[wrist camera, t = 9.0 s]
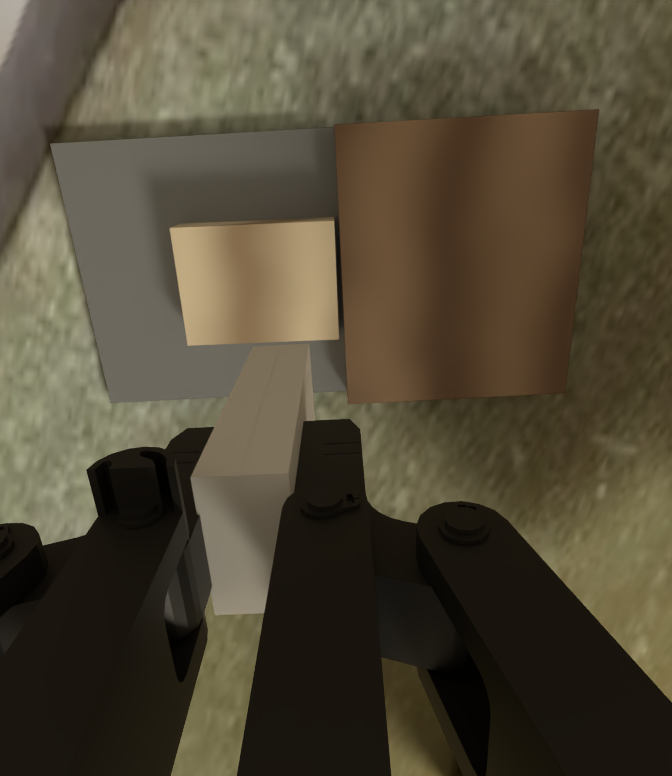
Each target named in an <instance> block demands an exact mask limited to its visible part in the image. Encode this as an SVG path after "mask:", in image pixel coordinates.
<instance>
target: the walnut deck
mask: <svg viewBox="0 0 672 776" xmlns="http://www.w3.org/2000/svg"><path fill="white" fill-rule="evenodd" d="M598 115H599V109H596V110H578V111H561V112H544V113H527V114H510V115H493V116H475V117H458V118H441V119H424V120H407V121H390V122H372V123H355V124H338V125H335V126H334V130H335V150H336V171H337V191H338V212H339V232H340V253H341V273H342V294H343V314H344V335H345V355H346V376H347V395H348V404H360V403H379V402H399V401H418V400H438V399H457V398H477V397H497V396H516V395H536V394H555V393H565V390H566V381H567V373H568V365H569V356H570V348H571V340H572V331H573V323H574V315H575V306H576V298H577V290H578V281H579V273H580V265H581V256H582V248H583V240H584V231H585V223H586V215H587V206H588V198H589V190H590V181H591V173H592V165H593V156H594V148H595V140H596V131H597V123H598Z"/></svg>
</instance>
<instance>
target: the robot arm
mask: <svg viewBox="0 0 672 776" xmlns="http://www.w3.org/2000/svg"><path fill="white" fill-rule="evenodd" d="M87 474H88V478H89V482H90V486H91V490H92V493H93V497H94V501H95V505H96V509H97V513H98V518H97V519H96V520H95V522H94V523H93V525H92V526H91V528H90V529H89V531H88V532H87V534H86V535H84V536H81V537H77V538H73V539H69V540H64V541H60V542H56V543H52V544H48V545H42V542H41V539H40V536H39V533H38V532H37V530H36V529H35V527H33V526H30V525H27V524H24V523H6V524H0V776H171V772H172V768H173V765H174V761H175V757H176V754H177V750H178V746H179V743H180V739H181V735H182V732H183V728H184V724H185V721H186V717H187V713H188V710H189V706H190V702H191V699H192V695H193V691H194V688H195V684H196V680H197V677H198V673H199V669H200V666H201V662H202V658H203V655H204V651H205V647H206V644H207V634H208V629H207V623H206V618H205V613H204V611H205V608H206V605H207V601H208V598H209V595H210V591H211V596H212V602H213V608H214V613H215V615H231V614H257V613H264V618H263V624H262V630H261V636H260V641H259V647H258V653H257V659H256V665H255V671H254V677H253V683H252V689H251V695H250V701H249V707H248V713H247V719H246V725H245V731H244V737H243V742H242V748H241V754H240V760H239V766H238V772H237V776H391V767H390V756H389V744H388V732H387V721H386V709H385V697H384V686H383V674H382V662H381V657H384V658H387V659H391V660H395V661H399V662H403V663H407V664H411V665H414V666H417V670H418V675H419V678H420V680H421V682H422V685H423V687H424V689H425V691H426V694H427V696H428V698H429V700H430V703H431V705H432V707H433V709H434V712H435V714H436V716H437V718H438V721H439V723H440V725H441V727H442V730H443V732H444V734H445V736H446V739H447V741H448V743H449V745H450V748H451V750H452V752H453V755H454V757H455V759H456V761H457V764H458V766H459V768H460V770H461V773H462V775H463V776H672V702H671V701H670V700H669V699H668V698H667V697H666V696H665V695H664V694H663V692H662V691H661V690H660V689H659V688H658V687H657V686H656V685H655V684H654V682H653V681H652V680H651V679H650V678H649V677H648V676H647V675H646V674H645V672H644V671H643V670H642V669H641V668H640V667H639V666H638V665H637V664H636V662H635V661H634V660H633V659H632V658H631V657H630V656H629V655H628V654H627V652H626V651H625V650H624V649H623V648H622V647H621V646H620V645H619V644H618V643H617V641H616V640H615V639H614V638H613V637H612V636H611V635H610V634H609V633H608V631H607V630H606V629H605V628H604V627H603V626H602V625H601V624H600V623H599V621H598V620H597V619H596V618H595V617H594V616H593V615H592V614H591V613H590V611H589V610H588V609H587V608H586V607H585V606H584V605H583V604H582V603H581V601H580V600H579V599H578V598H577V597H576V596H575V595H574V594H573V593H572V591H571V590H570V589H569V588H568V587H567V586H566V585H565V584H564V583H563V581H562V580H561V579H560V578H559V577H558V576H557V575H556V574H555V573H554V572H553V570H552V569H551V568H550V567H549V566H548V565H547V564H546V563H545V562H544V560H543V559H542V558H541V557H540V556H539V555H538V554H537V553H536V552H535V550H534V549H533V548H532V547H531V546H530V545H529V544H528V543H527V542H526V540H525V539H524V538H523V537H522V536H521V535H520V534H519V533H518V532H517V530H516V529H515V528H514V527H513V526H512V525H511V524H510V523H509V522H508V520H507V519H505V518H504V517H503V516H501V515H500V514H499V513H497V512H496V511H495V510H493V509H490V508H488V507H485V506H482V505H480V504H475V503H470V502H462V501H459V502H444V503H441V504H438V505H435V506H432V507H430V508H429V509H427V510H426V511H425V512H424V513H422V514H421V515H420V517H419V520H418V522H417V523H411V522H405V521H401V520H397V519H393V518H390V517H388V516H385V515H383V514H381V513H380V512H378V511H377V510H375V509H374V508H373V507H372V506H371V505H370V503H369V502H368V500H367V497H366V492H365V481H364V469H363V458H362V446H361V434H360V429H359V428H358V427H357V426H356V425H355V424H354V423H353V422H352V421H351V420H350V419H339V420H317V421H315V414H314V401H313V387H312V374H311V360H310V347H309V344H291V345H271V346H253V347H252V349H251V351H250V353H249V355H248V358H247V360H246V362H245V364H244V366H243V368H242V370H241V372H240V374H239V376H238V379H237V381H236V383H235V385H234V387H233V389H232V391H231V393H230V395H229V398H228V400H227V402H226V404H225V406H224V408H223V410H222V412H221V414H220V416H219V419H218V421H217V423H216V425H215V427H205V428H187V429H186V430H184V431H183V432H182V433H180V434H179V435H177V436H176V437H175V438H173V439H172V440H171V441H170V443H169V444H168V446H167V448H166V449H162V448H159V447H139V448H132V449H126V450H123V451H120V452H116V453H113V454H110V455H108V456H106V457H104V458H102V459H100V460H98V461H96V462H95V463H94V464H93V465H92V466H90V467H89V468H88V469H87Z"/></svg>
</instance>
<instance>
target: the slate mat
mask: <svg viewBox="0 0 672 776" xmlns="http://www.w3.org/2000/svg"><path fill="white" fill-rule="evenodd" d="M50 145H51V150H52V154H53V158H54V162H55V167H56V171H57V175H58V180H59V184H60V188H61V192H62V197H63V201H64V205H65V209H66V214H67V218H68V222H69V227H70V231H71V235H72V239H73V244H74V248H75V252H76V256H77V261H78V265H79V269H80V274H81V278H82V282H83V286H84V291H85V295H86V299H87V303H88V308H89V312H90V316H91V321H92V325H93V329H94V333H95V338H96V342H97V346H98V350H99V355H100V359H101V363H102V368H103V372H104V376H105V380H106V385H107V389H108V393H109V397H110V402H111V403H119V402H139V401H158V400H178V399H197V398H216V397H229V395H230V393H231V391H232V389H233V387H234V385H235V383H236V381H237V379H238V376H239V374H240V372H241V370H242V368H243V366H244V364H245V362H246V360H247V358H248V355H249V353H250V351H251V349H252V347H253V346H271V345H291V344H309V347H310V360H311V374H312V387H313V392H333V391H347V376H346V355H345V335H344V314H343V294H342V273H341V253H340V232H339V212H338V191H337V171H336V150H335V130H334V127H328V128H311V129H294V130H277V131H260V132H243V133H225V134H208V135H191V136H174V137H157V138H139V139H122V140H105V141H88V142H71V143H53V144H50ZM322 217H334V228H335V253H336V277H337V302H338V326H339V339H337V340H313V341H289V342H265V343H240V344H216V345H192V346H188V345H187V338H186V332H185V325H184V319H183V312H182V306H181V299H180V293H179V286H178V280H177V273H176V267H175V260H174V254H173V247H172V241H171V234H170V228H171V227H173V226H176V225H178V224H184V223H207V222H230V221H253V220H276V219H299V218H322Z"/></svg>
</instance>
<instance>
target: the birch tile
mask: <svg viewBox="0 0 672 776" xmlns="http://www.w3.org/2000/svg"><path fill="white" fill-rule="evenodd" d="M170 234H171V241H172V247H173V254H174V260H175V267H176V273H177V280H178V286H179V293H180V299H181V306H182V312H183V319H184V325H185V332H186V338H187V345H188V346H192V345H216V344H240V343H265V342H289V341H313V340H337V339H339V326H338V302H337V277H336V253H335V228H334V217H322V218H299V219H276V220H253V221H230V222H207V223H184V224H178V225H176V226H173V227H171V228H170Z"/></svg>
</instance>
